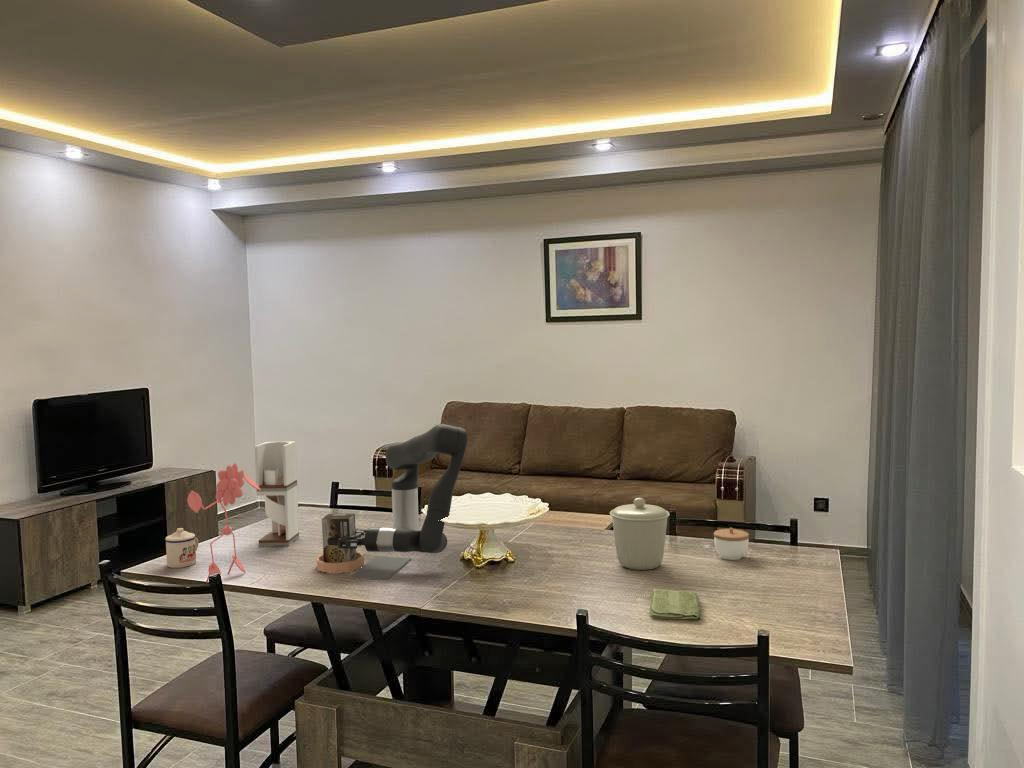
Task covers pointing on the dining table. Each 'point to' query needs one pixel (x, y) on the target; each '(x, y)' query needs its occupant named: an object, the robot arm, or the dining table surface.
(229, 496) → the pink flower stick figure
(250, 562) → the dining table surface
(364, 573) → the rubber mat
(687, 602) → the washcloth
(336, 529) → the printed cardboard box
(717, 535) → the lidded jar
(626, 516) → the canister
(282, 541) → the display case
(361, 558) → the terracotta ring
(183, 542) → the teacup with lid
